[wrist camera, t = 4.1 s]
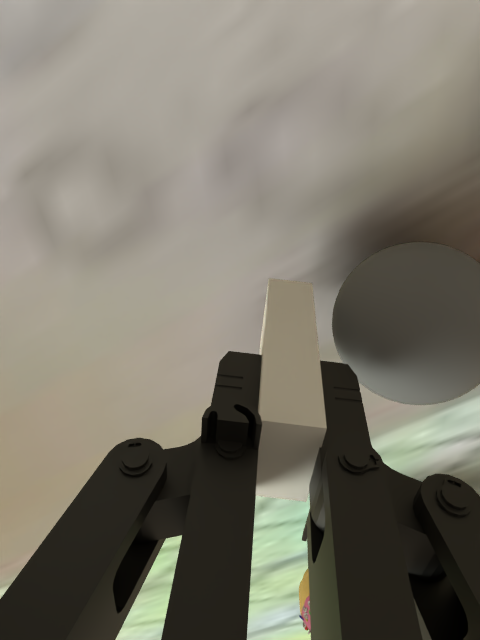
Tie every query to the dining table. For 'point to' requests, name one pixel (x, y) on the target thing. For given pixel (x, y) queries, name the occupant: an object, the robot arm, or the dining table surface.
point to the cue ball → (412, 323)
